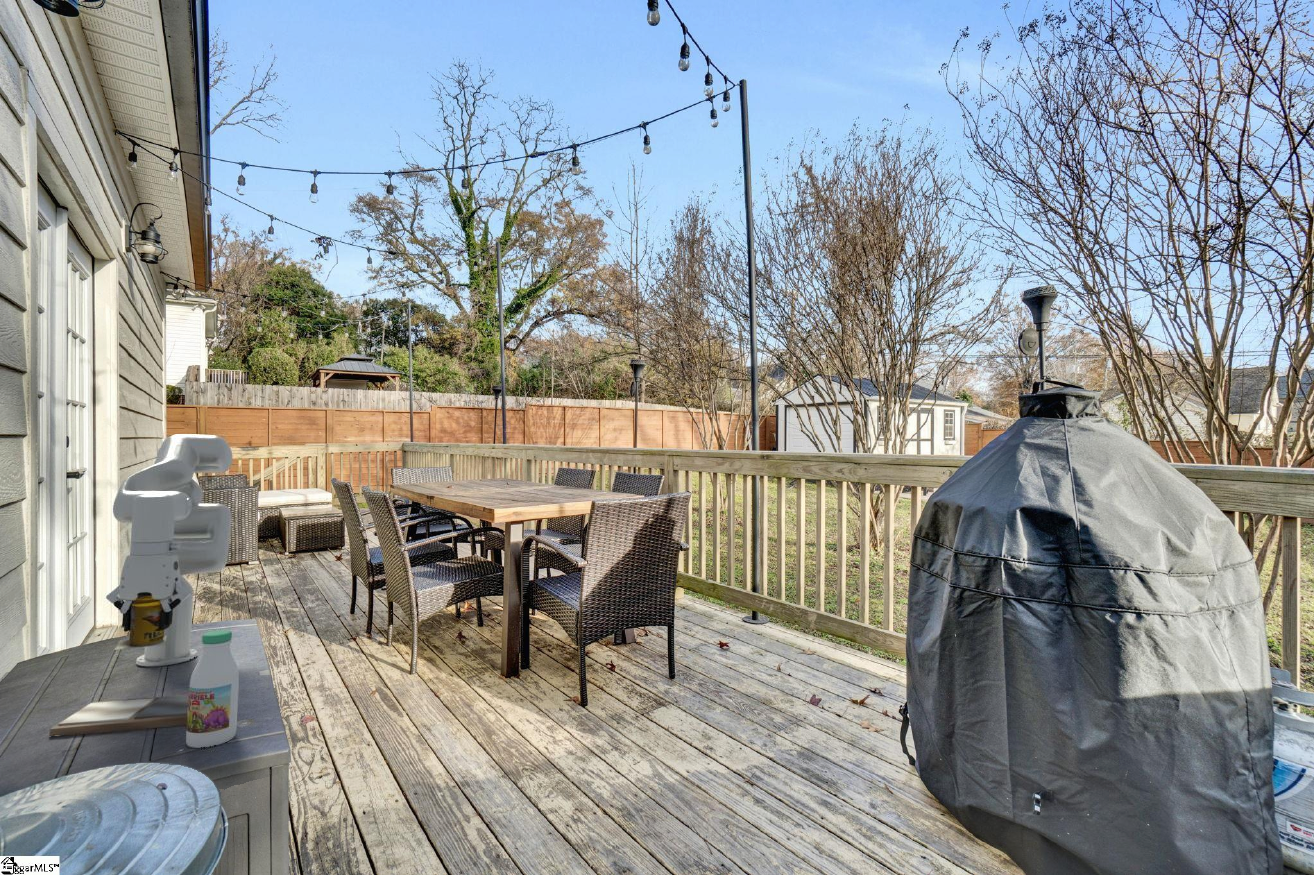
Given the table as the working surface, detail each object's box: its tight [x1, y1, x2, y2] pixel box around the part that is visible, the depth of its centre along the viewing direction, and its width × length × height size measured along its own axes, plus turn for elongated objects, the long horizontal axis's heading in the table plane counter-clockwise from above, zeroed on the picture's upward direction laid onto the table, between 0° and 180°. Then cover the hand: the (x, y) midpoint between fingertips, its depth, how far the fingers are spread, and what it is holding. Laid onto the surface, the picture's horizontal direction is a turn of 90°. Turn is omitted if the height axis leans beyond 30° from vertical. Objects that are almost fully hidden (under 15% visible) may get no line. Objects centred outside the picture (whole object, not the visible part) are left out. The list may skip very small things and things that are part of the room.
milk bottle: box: [185, 629, 240, 749], centre depth 117 cm, size 8×8×20 cm
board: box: [49, 694, 189, 737], centre depth 127 cm, size 14×24×2 cm, turn 108°
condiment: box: [114, 592, 167, 651], centre depth 139 cm, size 7×8×12 cm
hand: (147, 628), depth 139 cm, fingers closed on condiment, 6 cm apart
